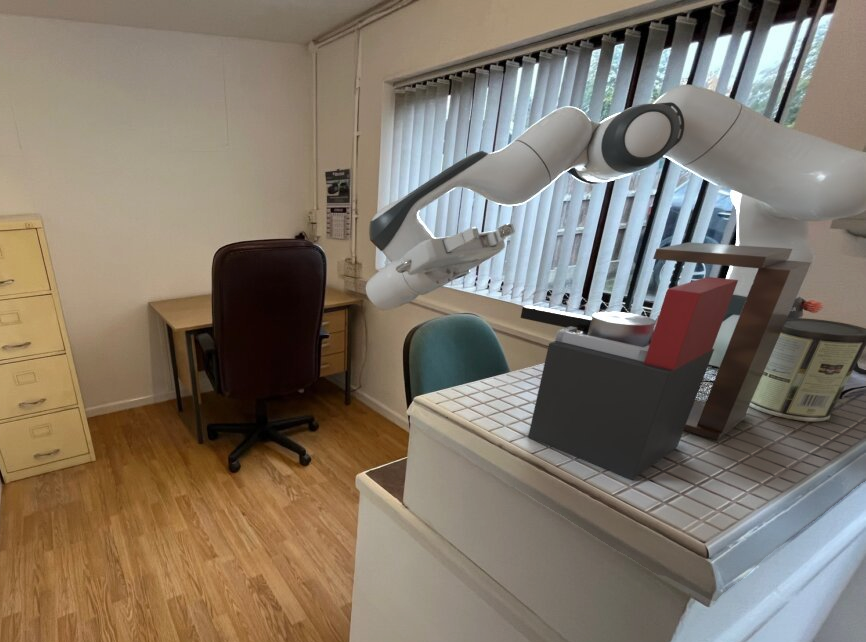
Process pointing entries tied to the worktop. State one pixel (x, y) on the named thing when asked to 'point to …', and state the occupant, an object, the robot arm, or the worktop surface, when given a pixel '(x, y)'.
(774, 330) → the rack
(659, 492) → the worktop surface
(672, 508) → the worktop surface
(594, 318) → the filter holder
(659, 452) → the coffee maker
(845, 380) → the coffee can
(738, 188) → the robot arm
